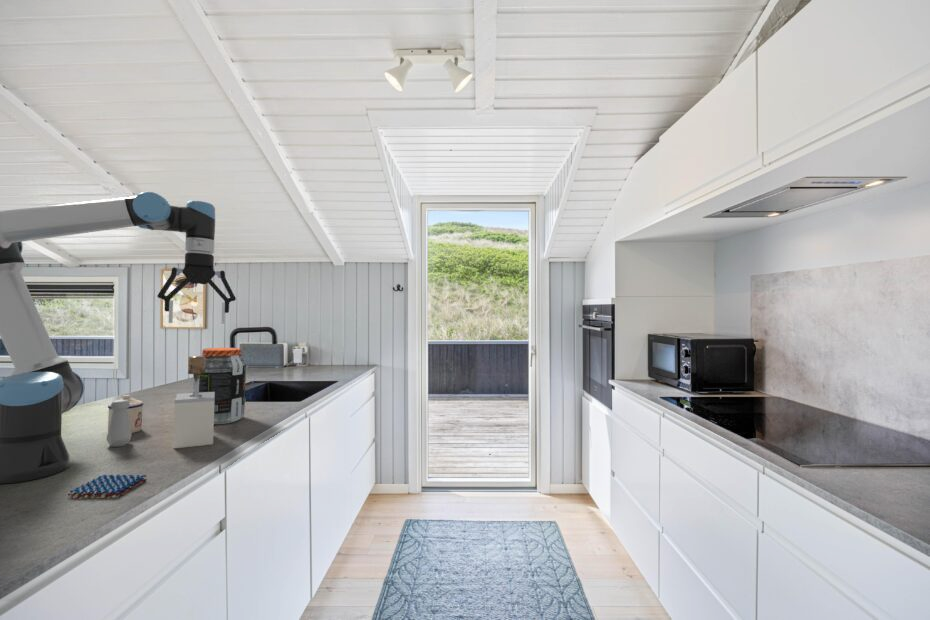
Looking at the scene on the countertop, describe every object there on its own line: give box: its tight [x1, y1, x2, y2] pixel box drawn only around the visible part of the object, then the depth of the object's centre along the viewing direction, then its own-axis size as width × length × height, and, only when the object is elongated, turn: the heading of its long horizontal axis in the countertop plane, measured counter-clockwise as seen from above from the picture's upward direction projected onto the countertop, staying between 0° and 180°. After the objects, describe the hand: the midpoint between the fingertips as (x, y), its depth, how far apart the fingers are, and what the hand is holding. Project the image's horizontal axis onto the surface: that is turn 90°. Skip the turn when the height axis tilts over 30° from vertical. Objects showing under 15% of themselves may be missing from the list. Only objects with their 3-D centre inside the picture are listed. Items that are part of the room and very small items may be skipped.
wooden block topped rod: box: [187, 355, 205, 397], centre depth 134 cm, size 7×7×24 cm
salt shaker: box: [106, 399, 132, 448], centre depth 129 cm, size 6×6×13 cm
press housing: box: [172, 392, 215, 449], centre depth 134 cm, size 10×10×14 cm
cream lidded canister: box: [107, 394, 144, 434], centre depth 143 cm, size 12×9×12 cm
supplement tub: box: [199, 347, 247, 425], centre depth 159 cm, size 16×16×26 cm
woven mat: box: [67, 474, 147, 500], centre depth 99 cm, size 10×11×2 cm
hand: (197, 323), depth 134 cm, fingers open, 13 cm apart
